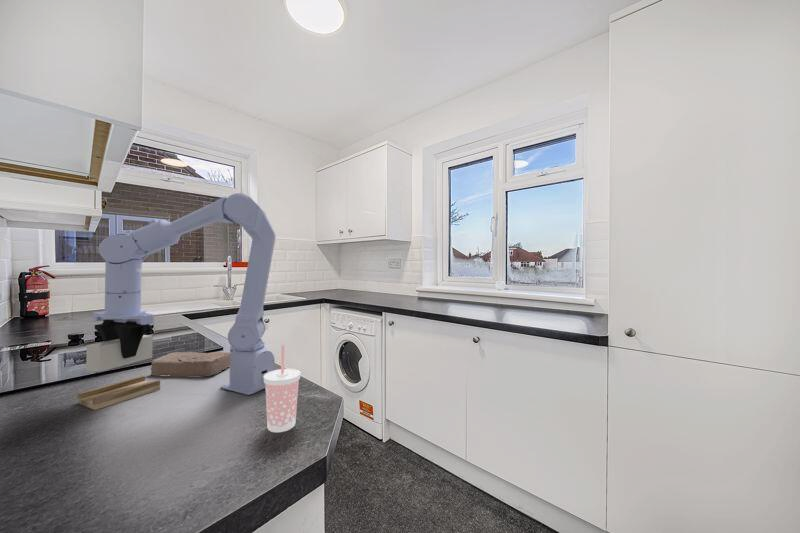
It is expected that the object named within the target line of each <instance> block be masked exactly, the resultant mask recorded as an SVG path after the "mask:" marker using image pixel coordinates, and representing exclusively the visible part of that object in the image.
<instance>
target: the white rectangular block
mask: <svg viewBox="0 0 800 533" xmlns="http://www.w3.org/2000/svg"><path fill="white" fill-rule="evenodd" d="M153 338H154V336H153V335H151V334H150V335H149V334H144V335H143V337H142V339H141V342H140V344H139V347H138V350H137V353H136V356H134V357H130V358H126V359H124V358H123V357H122V353H121V344H120V339H116V340H111V341H105V342H103V341H101V342H96V343H91V344H86V354H85V355H86V357H85V358H86V361H85V362H86V364H85V365H86V368H85V369H86V370H85V371H89V372H95V373H101V372H104V371H109V370H111V369H115V368H120V367H122V366H123V367H124V366H126V365H130V364H135V363H138V362H141V361H146V360H149V359H152V358H153V345H154V344H153V343H154V342H153Z"/></svg>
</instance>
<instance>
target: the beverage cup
mask: <svg viewBox="0 0 800 533" xmlns="http://www.w3.org/2000/svg"><path fill="white" fill-rule="evenodd" d="M280 352H281V354H280V355H281V356H280V357H281V358H280V361H281V362H280V364H281V365H280V366H281V367H280V368H279V369H274V371H270V372H268V373H266V374H265V375H264V376H263V378H264V383H265V388H264V390H265V402H266V404H265V405H266V406H265V408H266V425H267V426H266V429H267V430H268V431H269V432H271V433H283V432H288V431H289V430H291V429H292V428H294V427H295V426H296V420H297V419H296V418H297V410H298V409H297V408H298V396H299V394H298V393H299V382H300V381H299V380H300V378H301V374H302V372H301V371H300V370H299V369H296V368H285V344H284V345H281V351H280Z"/></svg>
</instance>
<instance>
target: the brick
mask: <svg viewBox="0 0 800 533" xmlns="http://www.w3.org/2000/svg"><path fill="white" fill-rule="evenodd" d="M229 366H230V351H229V352H226V351H213V352H196V351H187V352H186V351H181V352H179V351H176V352H174V351H173V352H169V353H167V354H166V355H162V356H159V357H157V358H155V359H152V361H151V368H150V376H151V375H170V376H169V377H179V376H186V377H188V376H206V377H211V376H214V375H218V374H220V373H221V372H223V371H222V370H224V369H225V370H226V369H228V368H227V367H229ZM229 368H230V367H229ZM225 370H224V371H225ZM219 372H220V373H219ZM217 373H218V374H217Z"/></svg>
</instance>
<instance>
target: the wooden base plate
mask: <svg viewBox="0 0 800 533" xmlns="http://www.w3.org/2000/svg"><path fill="white" fill-rule="evenodd" d="M159 390H161V380H159V379H156V380H152V381H148V380H146V376H145V375H141V376H137V377H133V378H130V379H126V380H122V381H118V382H114V383H111V384H110V383H109V384H107V385H103V386H100V387H96V388H91V389H89V390H85V391H81V392H77V404H79V405H81V406H84V407H87V408H88V409H91V410H94V411H96V410H100V409H102V408H106V407H109V406H112V405H114V404H115V405H116V404H119V403H122V402H125V401H128V400H132V399H134V398H137V397H140V396H143V395H148V394H150V393H153V392H156V391H159Z"/></svg>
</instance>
